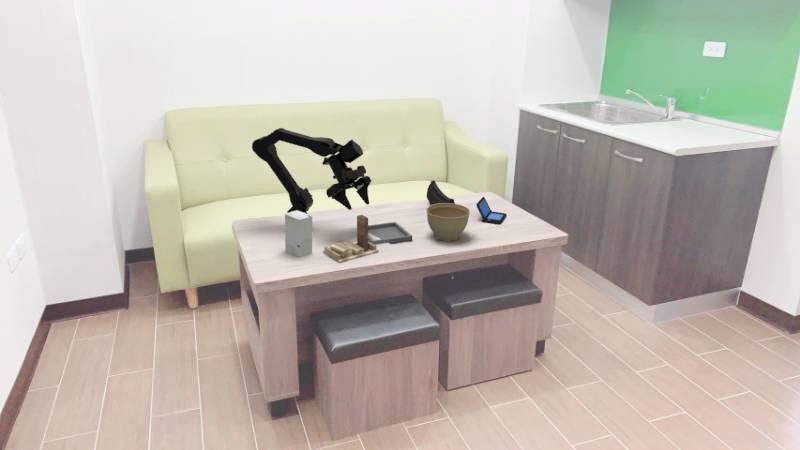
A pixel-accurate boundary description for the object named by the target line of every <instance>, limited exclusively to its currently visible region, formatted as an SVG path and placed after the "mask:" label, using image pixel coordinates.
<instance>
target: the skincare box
mask: <svg viewBox="0 0 800 450" xmlns="http://www.w3.org/2000/svg"><path fill="white" fill-rule="evenodd" d="M284 220H285V221H284V222H285V223H284V226H285V227H284V228H285V229H284V234H285V235H284V238H285V239H284V241H285V242H284V243H285V244H284V245H285V249H284V250H285V252H286V253H288V254H291V255H293V256H295V257H297V258H302V257H305V256H308V255H311V254H312V253H313V216H312V215H311V214H309V213H307V214H306V213H304V212H300V211H298V210H296V211H293V212H289V213H287V212H286V213H284Z"/></svg>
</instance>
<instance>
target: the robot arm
mask: <svg viewBox="0 0 800 450" xmlns="http://www.w3.org/2000/svg"><path fill="white" fill-rule="evenodd" d="M279 141H281V142H285V143H287V144H290V145H295V146H298V147H301V148H305V149H308V150H310V151H311V152H312V153H313V154H315V155H318V156H320V157H322V158H323V161H322V166H325V165H326V166H329V167H330V169H331V171H332V173H333V176H332V178H333V180H336V181H337V183H333V184H332V185H330V186H329V187H328V188H327V189H326V191H325V192H326V193H325V194H326V196H327V198H328V199H329V198H331V200H335V201H336V202H338V203H340V205H342V206H344V207H345V208H346V209H348V210H349V211H351V210H353V208H352V205H351V203H350V201H349V199H348V196H347V193H346V191H347V190H350V189H355V190H356V191H355V192H356V193H357V194H358V196H359V197H360V198H361V200H362V201H363V202H364V203H365V204H366V205H367V206H368V205H370V199H369V198H370V197H369V191H368V189H369V186H370V185H371V183H372V179H371V178H370V176H368V175H365V174H366V173H367V169H366V167H365V166H364V165H363V164H362V165H358V166H356V167H357V168H356V169H353V167H348V165H347V163H349V164H351V163H353V162H354V161H356V160H357V159H359V158H360V157H361V156H363V155H364V151H363V149H362V147H361V145H360V144H358V143H357V141H356V142H355V141H354V139H350V140H348V141H347V142H346V143H345V144H344V145H343V144H340V143H337V142H335V140H334V139H332V138H329V137H321V136H320V137H315V136H309V135H306V134H302V133H299V132H295V131H291V130H288V129H285V128H283V127H279V128H277V129H275V130H273V131H272V132H271V133H270V134H268V135H264V136H262V137H259V138H258V139H255V140H254V141H253V142H252V143H251V144H252V145H251V149H252V151H253V152H254V154H256V156H257V157H258V158H259V159H261V160H262V161H264V162H266V163H267V165H268V166H269V168H270V169H271V170H272V172H273V173H274V175H275V176H276V178H277V179H278V181H279V182H280V183H281V185H282V186H283V188H284V189H285V190H286V192H287V194H288V197H289V201H290V204H291V207H290V208H289V209H288V210H287V212H286V213H289V212H293V211H296V210H298V211H300V212H304V213H306V214H308V212H309V210H310V208H311V207H312V206H313V205H314V199H313V194H311V193H310V191H309V189H308V188H307V187H305V188H304V189H303V188H302V187H300V185H299V184H298V183H297V181H296V180H295V178H294V177H293V175H292V174H291V173H290V172H289V170H288V169H287V167H286V166H285V164H284V163H283V161H282V160H281V158H280V157H279V155H278V150H277V147H276V145H275V144H277V143H278V142H279ZM329 155H330V156H329ZM328 156H329V157H328Z"/></svg>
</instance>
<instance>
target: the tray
mask: <svg viewBox="0 0 800 450" xmlns="http://www.w3.org/2000/svg"><path fill="white" fill-rule="evenodd" d="M369 234H371V235H372V236H375V237H376V238H378V239H375V240H374V239H373V238H372V236H370V235H369ZM368 241H369V242H371V243H372V244H374V245H380V244H386V243H387V244H389V245H393V244H399V243H400V244H401V243H406V242H407V243H408V242H412V241H413V235H412V234H411V233H410V232H408V231H407V230H406V229H405V228H404V227H402V225H400V224H399V223H398V222H397V221H394V222H393V221H391V222H382V223H375V224H370V225H369V224H368Z"/></svg>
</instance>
